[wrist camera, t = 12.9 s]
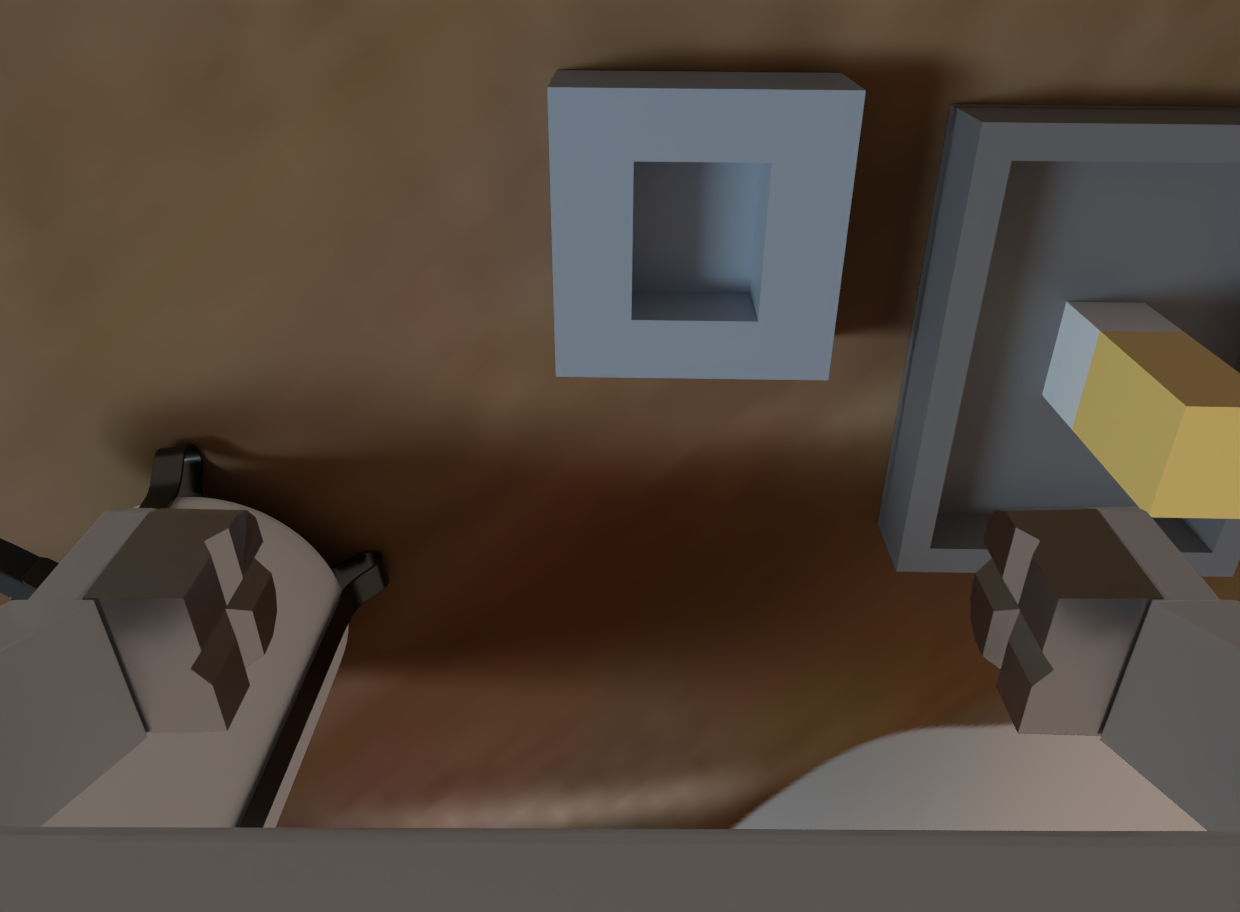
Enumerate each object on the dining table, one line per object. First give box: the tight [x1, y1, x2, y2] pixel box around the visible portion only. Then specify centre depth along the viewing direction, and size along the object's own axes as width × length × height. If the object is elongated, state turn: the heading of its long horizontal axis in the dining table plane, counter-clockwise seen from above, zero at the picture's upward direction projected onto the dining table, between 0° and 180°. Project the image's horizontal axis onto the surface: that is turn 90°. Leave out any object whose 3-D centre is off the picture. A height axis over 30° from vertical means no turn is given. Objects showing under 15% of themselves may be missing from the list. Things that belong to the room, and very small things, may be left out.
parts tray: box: [878, 104, 1240, 577], centre depth 36 cm, size 18×14×4 cm
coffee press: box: [0, 444, 389, 828], centre depth 31 cm, size 17×16×30 cm
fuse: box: [1042, 301, 1240, 519], centre depth 33 cm, size 4×3×9 cm
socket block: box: [547, 70, 866, 380], centre depth 33 cm, size 10×10×4 cm
